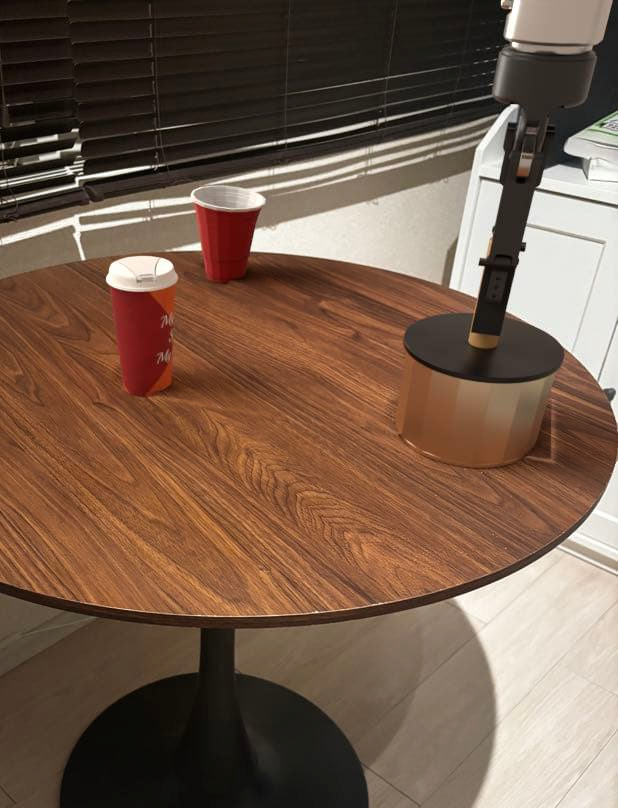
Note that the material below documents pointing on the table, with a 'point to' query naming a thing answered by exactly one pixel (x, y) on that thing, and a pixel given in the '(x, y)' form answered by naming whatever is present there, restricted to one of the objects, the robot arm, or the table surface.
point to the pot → (469, 417)
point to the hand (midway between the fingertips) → (486, 325)
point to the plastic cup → (226, 228)
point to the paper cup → (144, 321)
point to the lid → (483, 348)
